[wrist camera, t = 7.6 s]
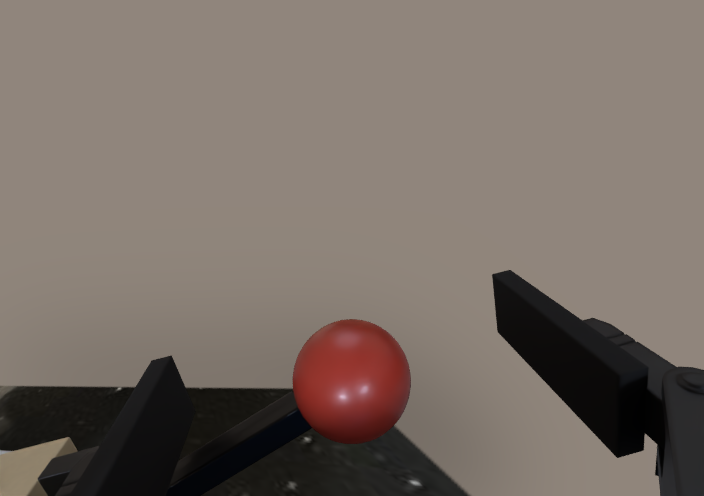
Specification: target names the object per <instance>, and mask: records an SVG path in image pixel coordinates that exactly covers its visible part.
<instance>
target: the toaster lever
mask: <svg viewBox="0 0 704 496" xmlns="http://www.w3.org/2000/svg"><path fill="white" fill-rule="evenodd" d="M410 387H411V377H410V370H409V365H408V362H407V359H406V356H405V354H404V352H403V350H402V349H401V347H400V345H399V344H398V342H397V341H396V340H395V339H394V338H393V337H392V336H391V335H390V334H389V333H388V332H387V331H385V330H384V329H382V328H381V327H379V326H377V325H375V324H373V323H370V322H367V321H363V320H355V319H349V320H340V321H337V322H334V323H331V324H328V325H326V326H324V327H323V328H321V329H320V330H318V331H317V332H316V333H315V334H313V335H312V336H311V337H310V338H309V340H307V342H306V343H305V344H304V346H303V347H302V349H301V351H300V353H299V355H298V357H297V360H296V363H295V367H294V372H293V391H292V392H290V393H288V394H287V395H285V396H284V397H282V398H280V399H279V400H277V401H275V402H274V403H272V404H271V405H269V406H267V407H266V408H264V409H262V410H261V411H259V412H258V413H256V414H254V415H253V416H251V417H249V418H248V419H246V420H245V421H243V422H241V423H240V424H238V425H236V426H235V427H233V428H232V429H230V430H228V431H227V432H225V433H223V434H222V435H220V436H218V437H217V438H215V439H214V440H212V441H210V442H209V443H207V444H205V445H204V446H202V447H201V448H199V449H197V450H196V451H194V452H192V453H191V454H189V455H188V456H186V457H184V458H183V459H181V460H179V461H178V462H177V465H176V468H175V471H174V474H173V476H172V479H171V482H170V485H169V488H168V491H167V493H166V496H200V495H202V494H204V493H205V492H207V491H209V490H210V489H212V488H214V487H215V486H217V485H219V484H220V483H222V482H223V481H225V480H227V479H228V478H230V477H232V476H233V475H235V474H237V473H238V472H240V471H242V470H243V469H245V468H247V467H248V466H250V465H252V464H253V463H255V462H257V461H258V460H260V459H261V458H263V457H265V456H266V455H268V454H270V453H271V452H273V451H275V450H276V449H278V448H280V447H281V446H283V445H285V444H286V443H288V442H290V441H291V440H293V439H295V438H296V437H298V436H299V435H301V434H303V433H304V432H306V431H308V430H309V429H311V428H313V429H314V430H315V431H316V432H318V433H319V434H321V435H322V436H324V437H325V438H328V439H330V440H332V441H335V442H339V443H344V444H359V443H364V442H368V441H371V440H374V439H376V438H378V437H380V436H382V435H383V434H385V433H386V432H387V431H388V430H390V429H391V428H392V427H393V426H394V425H395V423H396V422H397V421H398V420H399V418H400V417H401V415H402V413H403V412H404V409H405V407H406V405H407V402H408V399H409V394H410Z"/></svg>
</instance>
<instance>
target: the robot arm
mask: <svg viewBox="0 0 704 496" xmlns="http://www.w3.org/2000/svg"><path fill="white" fill-rule="evenodd" d="M492 277H493V288H494V298H495V308H496V319H497V330H498V333H499V334H500V335H501V336H502V337H503V338H504V339H505V340H506V341H507V342H508V343H509V344H510V345H511V346H512V347H513V348H514V350H516V352H517V353H518V354H519V355H520V356H521V357H522V358H523V359H524V360H525V361H526V362H527V363H528V364H529V365H530V366H531V367H532V369H533V370H534V371H535V372H536V373H537V374H538V375H539V376H540V377H541V378H542V379H543V380H544V381H545V382H546V383H547V384H548V385H549V386H550V387H551V388H552V390H553V391H554V392H555V393H556V394H557V395H558V396H559V397H560V398H561V399H562V400H563V401H564V402H565V403H566V404H567V405H568V406H569V407H570V408H571V410H572V411H573V412H574V413H575V414H576V415H577V416H578V417H579V418H580V419H581V420H582V421H583V422H584V423H585V424H586V425H587V426H588V428H590V430H591V431H592V432H593V433H594V434H595V435H596V436H597V437H598V438H599V439H600V440H601V441H602V442H603V443H604V444H605V445H606V447H607V448H608V449H609V450H610V451H611V452H612V453H613V454H614V455H615V456H616V457H617V458H619V457H622V456H626V455H629V454H633V453H636V452H640V451H643V450H644V435H645V434H647V435H648V436H649V437H650V438H651V439H652V440H653V441H655V443H657V444H658V445H657V458H656V472H655V475H657V476H659V484H660V496H704V370H701V369H697V368H693V367H676V366H674V365H673V364H671V363H669V362H668V361H666V360H665V359H663V358H662V357H660V356H659V355H657V354H656V353H654V352H653V351H651V350H650V349H648V348H646V347H645V346H643V345H642V344H640V343H639V342H635V340H634V339H633V338H631V337H629V336H628V335H624V333H623V332H622V331H620V330H619V329H617V328H616V327H614V326H612V325H611V324H609V323H606V322H603V321H600V320H597V319H595V318H591V319H587V320H583V321H582V320H581V319H579V318H578V317H576V316H575V315H574V314H572V313H571V312H569V311H568V310H566V309H565V308H564V307H562V306H561V305H559V304H558V303H556V302H555V301H554V300H552V299H551V298H549V297H548V296H546V295H545V294H544V293H542V292H541V291H539V290H538V289H536V288H535V287H534V286H532V285H531V284H529V283H528V282H526V281H525V280H524V279H522V278H521V277H519V276H518V275H516V274H515V273H514V272H512V271H511V270H508V271H504V272H500V273H496V274H493V275H492ZM194 414H195V409H194V406H193V404H192V402H191V399H190V397H189V395H188V393H187V390H186V388H185V386H184V383H183V381H182V379H181V376H180V374H179V372H178V369H177V367H176V365H175V363H174V360H173V358H172V356H168V357H164V358H160V359H156V360H153V361H151V363H150V365H149V366H148V368H147V369H146V371H145V373H144V374H143V376H142V377H141V379H140V381H139V383H138V384H137V386H136V387H135V389H134V391H133V392H132V394H131V395H130V397H129V399H128V400H127V402H126V404H125V405H124V407H123V409H122V410H121V412H120V414H119V415H118V417H117V418H116V420H115V422H114V423H113V425H112V427H111V428H110V430H109V432H108V433H107V435H106V436H105V438H104V440H103V441H102V443H101V445H100V446H99V448H98V450H95V451H92V452H88V453H87V454H86V455H85V456H84V457H83V458H82V459H81V460H80V461H79V462H78V463H77V464H76V465H75V466H74V467H73V468H72V470H71V472H70V473H69V475H68V476H67V478H66V479H65V481H64V482H63V484H62V487H61V488H59V490H58V492H57V493H56V495H55V496H166V493H167V491H168V488H169V485H170V482H171V479H172V476H173V474H174V471H175V468H176V465H177V462H178V459H179V457H180V454H181V451H182V448H183V445H184V442H185V440H186V437H187V434H188V431H189V428H190V425H191V423H192V420H193V417H194Z"/></svg>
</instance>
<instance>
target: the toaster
mask: <svg viewBox="0 0 704 496" xmlns="http://www.w3.org/2000/svg"><path fill="white" fill-rule="evenodd" d="M74 452H78V451H77V449H76V447H75V446H74V444H73V442H72V441H71V439H70V437H67V438H63V439H59V440H55V441H51V442H47V443H43V444H40V445H36V446H32V447H28V448H24V449H20V450H16V451H12V452H9V453H5V454H1V455H0V496H48V495H47V494H46V492H45V491H44V489H43V488H42V486H41V485H40V483H39V481H38V480H37V479H38V477H39V475H40V474H41V473H42V471H43V470H44V469H45V467H46V466H47V465H48V463H49V462H50V460H51V459H52V458H55V457H59V456H63V455H66V454H70V453H74Z"/></svg>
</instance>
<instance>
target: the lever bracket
mask: <svg viewBox="0 0 704 496" xmlns="http://www.w3.org/2000/svg"><path fill="white" fill-rule="evenodd" d="M98 448H99V446H97V447H93V448H90V449H86V450H82V451H78V452H74V453H70V454H66V455H63V456H59V457H55V458H52V459H51V460H50V462H49V463H48V465H47V466H46V467H45V469H44V470H43V471H42V473H41V474H40V475H39V477H38V479H37V480H38V481H39V483H40V485H41V486H42V488H43V489H44V491H45V492H46V494H47V495H48V496H55V495H56V493H57V492H58V490H59V488H61V487H62V484H63V482H64V481H65V479H66V478H67V476H68V475H69V473H70V472H71V470H72V468H73V467H74V466H75V465H76V464H77V463H78V462H79V461H80V460H81V459H82V458H83V457H84V456H85V455H86V454H87V453H88V452H92V451H95V450H98Z"/></svg>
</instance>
